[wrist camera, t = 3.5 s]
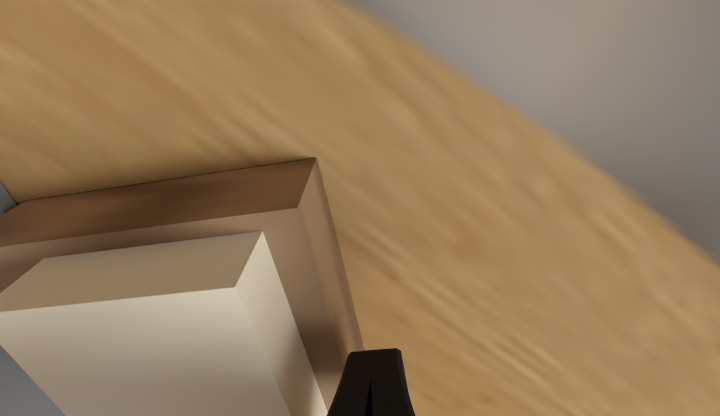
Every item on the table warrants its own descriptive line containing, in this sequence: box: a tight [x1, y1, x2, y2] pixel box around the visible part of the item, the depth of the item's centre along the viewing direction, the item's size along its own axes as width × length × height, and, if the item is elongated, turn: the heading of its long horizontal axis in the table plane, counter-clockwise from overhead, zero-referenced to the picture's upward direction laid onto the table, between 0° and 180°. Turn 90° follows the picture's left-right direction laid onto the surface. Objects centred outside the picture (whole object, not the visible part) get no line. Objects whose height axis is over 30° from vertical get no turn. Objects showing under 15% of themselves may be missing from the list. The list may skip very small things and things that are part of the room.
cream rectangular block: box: [0, 231, 328, 416], centre depth 11 cm, size 6×9×2 cm, turn 10°
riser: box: [0, 158, 364, 412], centre depth 13 cm, size 10×10×3 cm
